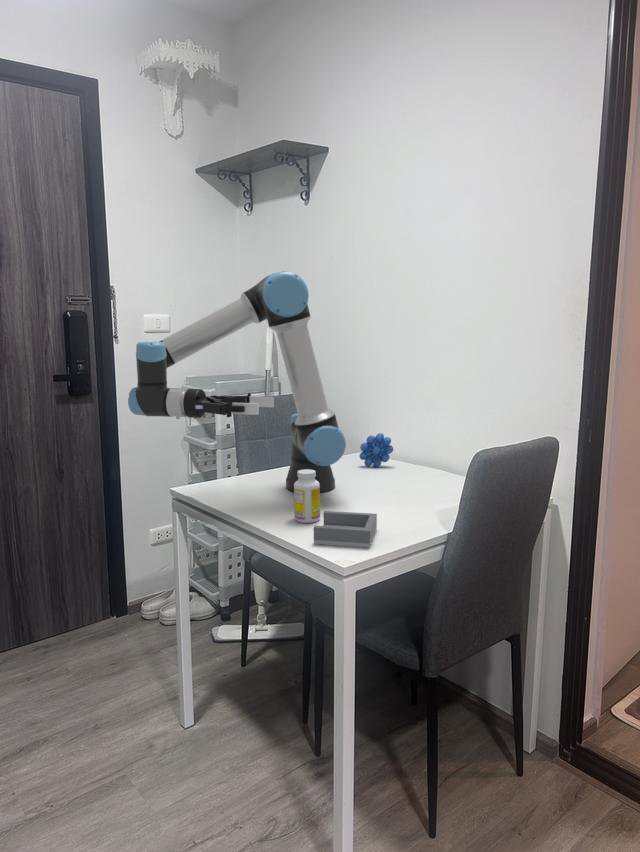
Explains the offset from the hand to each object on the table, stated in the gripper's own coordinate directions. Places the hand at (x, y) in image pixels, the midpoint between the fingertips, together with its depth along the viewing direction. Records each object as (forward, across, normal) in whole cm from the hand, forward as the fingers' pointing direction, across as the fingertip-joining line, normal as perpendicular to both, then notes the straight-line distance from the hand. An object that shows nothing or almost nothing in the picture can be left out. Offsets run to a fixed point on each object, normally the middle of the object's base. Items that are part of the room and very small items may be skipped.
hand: (266, 405), depth 163 cm
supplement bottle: (+10, 0, -30) cm, 32 cm away
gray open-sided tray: (+22, +10, -29) cm, 38 cm away
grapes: (+21, -63, -29) cm, 72 cm away
